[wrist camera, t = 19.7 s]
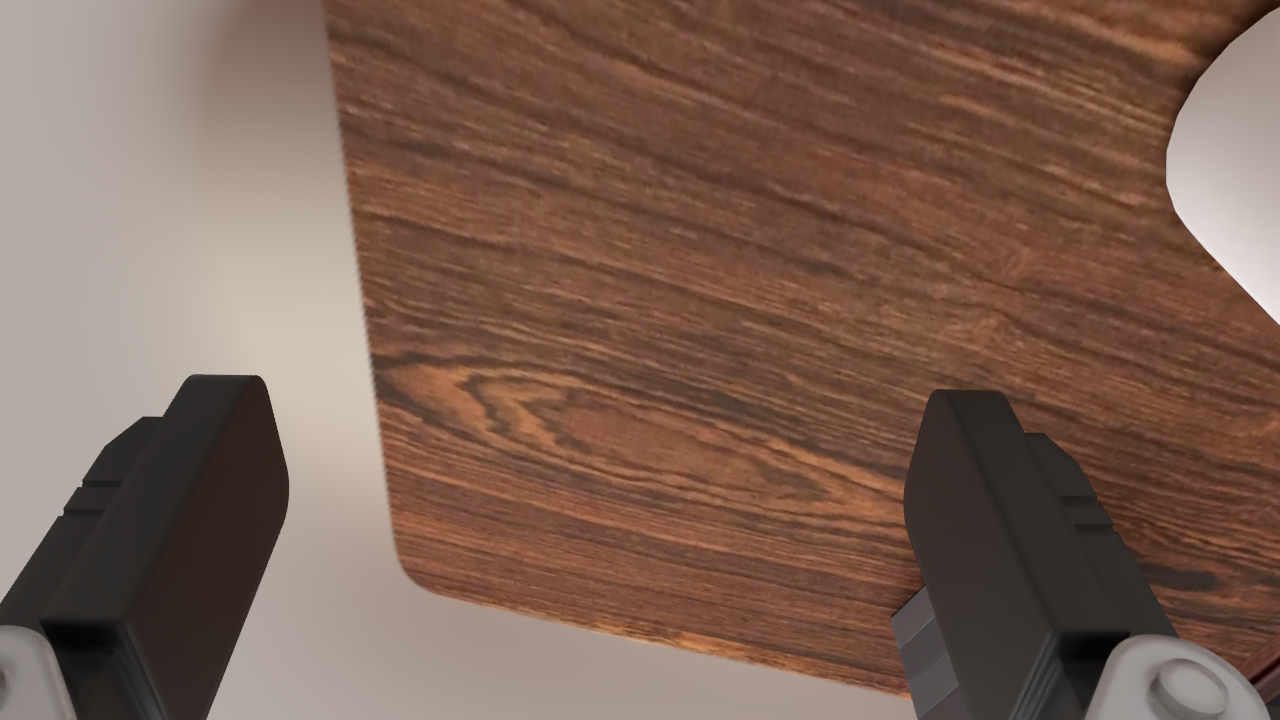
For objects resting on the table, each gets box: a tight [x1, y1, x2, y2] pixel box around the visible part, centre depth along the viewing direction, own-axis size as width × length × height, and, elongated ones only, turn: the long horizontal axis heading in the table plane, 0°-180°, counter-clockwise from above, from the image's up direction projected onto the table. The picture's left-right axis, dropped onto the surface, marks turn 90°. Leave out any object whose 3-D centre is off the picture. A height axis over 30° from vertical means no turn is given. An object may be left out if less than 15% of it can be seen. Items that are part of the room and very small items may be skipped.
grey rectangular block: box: [890, 586, 970, 720], centre depth 42 cm, size 8×4×7 cm, turn 63°
